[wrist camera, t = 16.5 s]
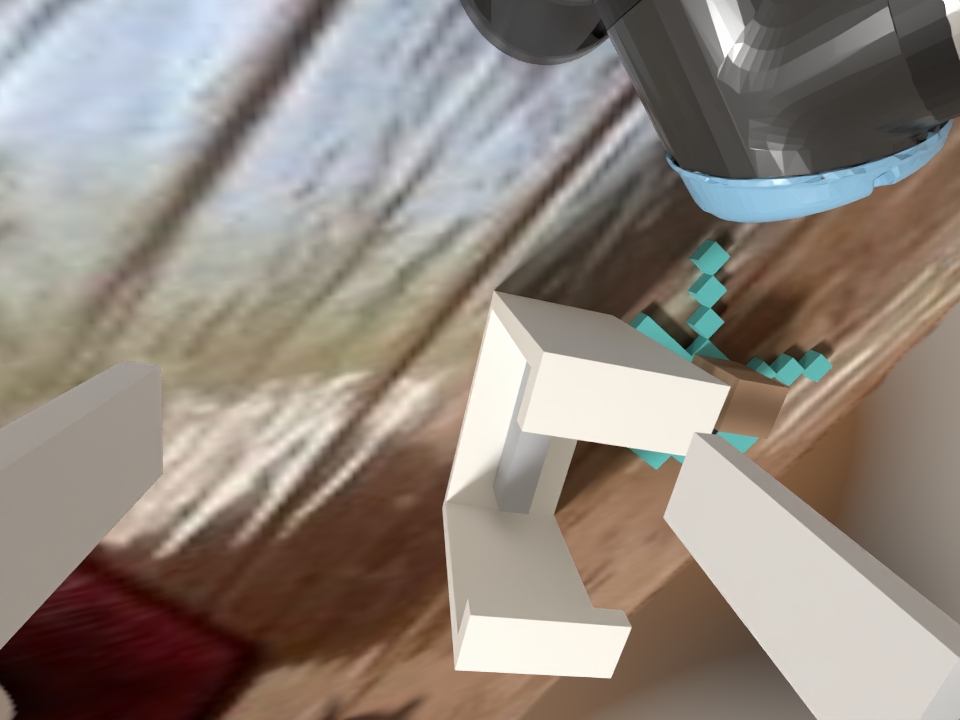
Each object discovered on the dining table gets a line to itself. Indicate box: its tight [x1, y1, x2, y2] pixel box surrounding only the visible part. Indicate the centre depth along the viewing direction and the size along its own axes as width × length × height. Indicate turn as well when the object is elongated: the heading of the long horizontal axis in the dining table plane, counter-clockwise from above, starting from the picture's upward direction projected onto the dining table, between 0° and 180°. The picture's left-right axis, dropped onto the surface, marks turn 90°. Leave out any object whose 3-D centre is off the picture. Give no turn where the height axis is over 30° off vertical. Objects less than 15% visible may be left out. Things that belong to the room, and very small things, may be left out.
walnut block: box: [691, 354, 789, 439], centre depth 45 cm, size 5×5×7 cm
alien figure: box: [628, 240, 833, 470], centre depth 49 cm, size 20×2×20 cm
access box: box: [442, 291, 731, 678], centre depth 40 cm, size 24×12×18 cm, turn 167°
